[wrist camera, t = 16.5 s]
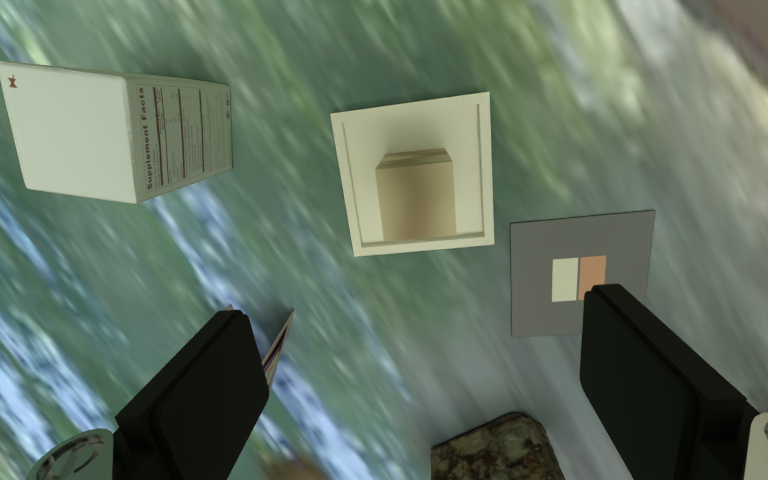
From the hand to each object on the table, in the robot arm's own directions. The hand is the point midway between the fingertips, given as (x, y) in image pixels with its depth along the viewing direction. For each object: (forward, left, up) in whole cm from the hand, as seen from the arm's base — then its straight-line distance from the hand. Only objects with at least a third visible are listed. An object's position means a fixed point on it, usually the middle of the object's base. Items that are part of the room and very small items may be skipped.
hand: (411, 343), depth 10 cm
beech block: (0, 0, -23) cm, 23 cm away
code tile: (-14, +11, -24) cm, 30 cm away
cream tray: (0, 0, -24) cm, 24 cm away
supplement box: (+19, -7, -24) cm, 32 cm away
